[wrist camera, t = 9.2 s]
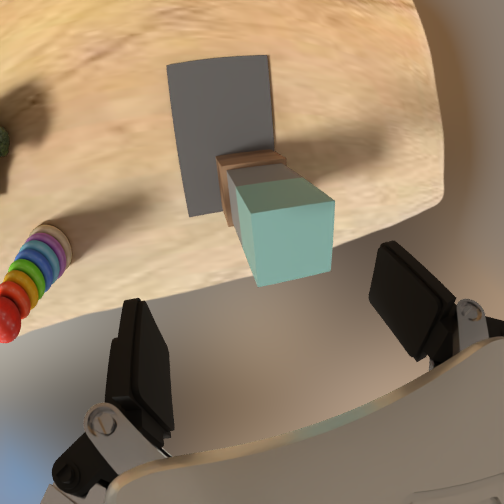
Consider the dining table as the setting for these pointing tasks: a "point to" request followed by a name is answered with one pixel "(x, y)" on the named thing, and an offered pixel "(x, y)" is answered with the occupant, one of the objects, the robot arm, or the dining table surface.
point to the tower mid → (253, 177)
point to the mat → (217, 120)
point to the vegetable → (4, 142)
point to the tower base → (241, 162)
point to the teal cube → (285, 229)
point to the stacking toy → (31, 277)
